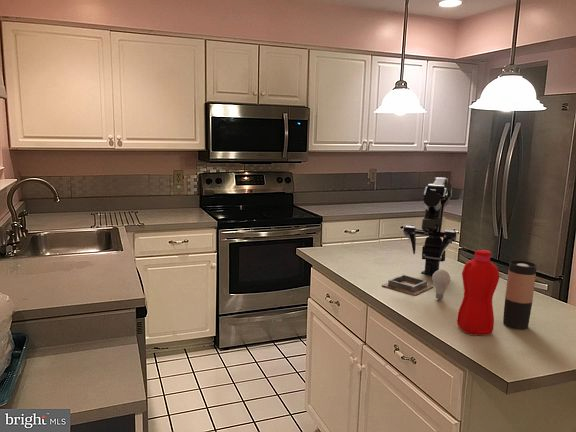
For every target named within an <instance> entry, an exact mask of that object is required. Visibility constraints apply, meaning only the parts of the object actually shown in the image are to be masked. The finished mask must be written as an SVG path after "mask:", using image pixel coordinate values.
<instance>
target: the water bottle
mask: <svg viewBox="0 0 576 432" xmlns="http://www.w3.org/2000/svg"><path fill="white" fill-rule="evenodd" d="M491 254H492V252H491V251H490V250H487V249H478V250H475V251H474V258H473V259H470V260H468V261H467V262H465V264H464V266H463V270H462V272H461V277H462V283H463V284H462V285H463V291H464V292H463V298H462V301H461V303H460V307H459V309H458V313H457V319H456V324H457V327H458V328H460V329H461V330H462V331H463V332H464V333H466V334H467V335H471V336H488V335H492V333H493V332H494V327H495V326H494V325H495V324H494V323H495V315H494V307H493V297H494V294H495V292H496V289H497V286H498V283H499V282H500V280H499V279H500V274H499V269H498V266H496V264H495V263H493V262H492V261H491Z"/></svg>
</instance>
